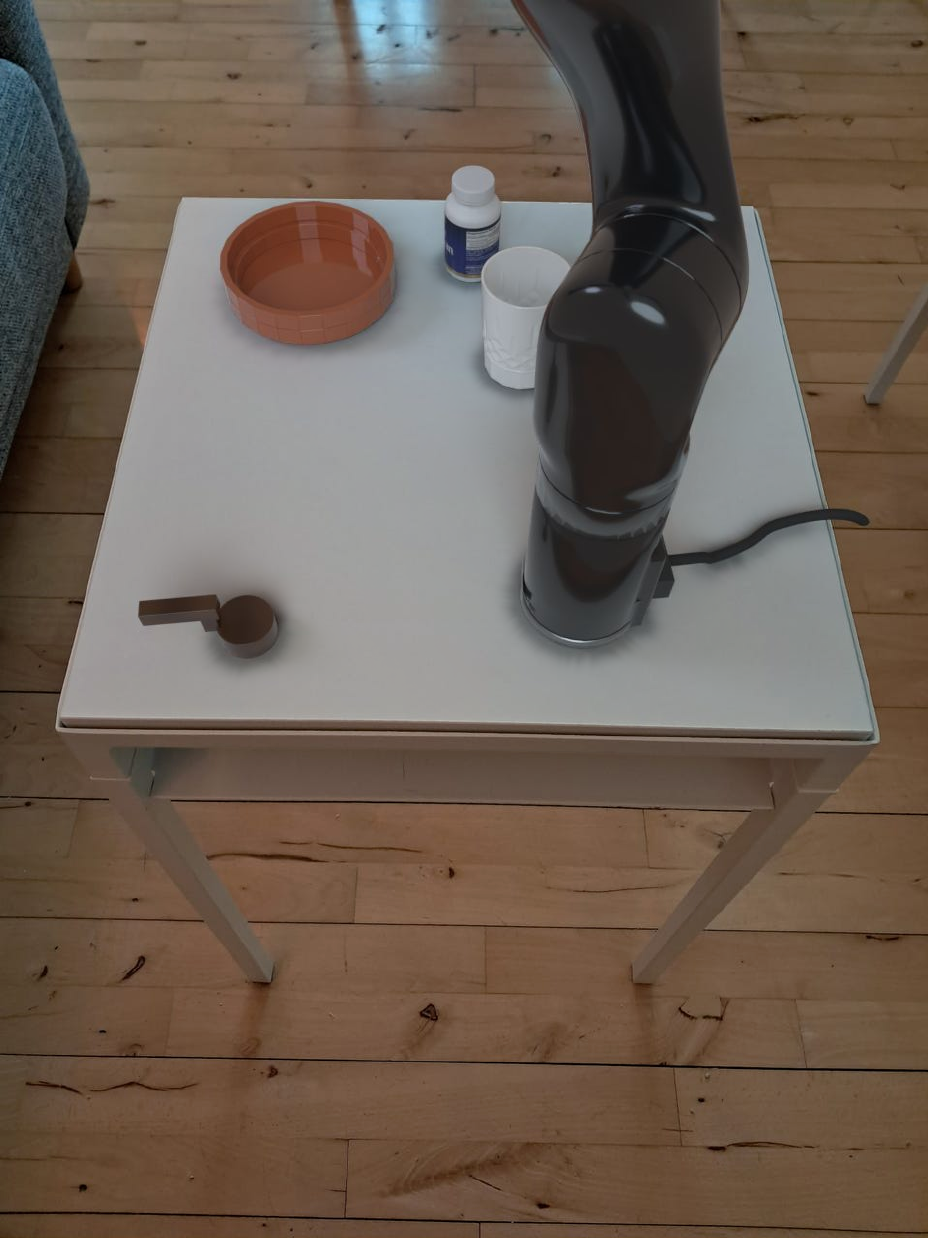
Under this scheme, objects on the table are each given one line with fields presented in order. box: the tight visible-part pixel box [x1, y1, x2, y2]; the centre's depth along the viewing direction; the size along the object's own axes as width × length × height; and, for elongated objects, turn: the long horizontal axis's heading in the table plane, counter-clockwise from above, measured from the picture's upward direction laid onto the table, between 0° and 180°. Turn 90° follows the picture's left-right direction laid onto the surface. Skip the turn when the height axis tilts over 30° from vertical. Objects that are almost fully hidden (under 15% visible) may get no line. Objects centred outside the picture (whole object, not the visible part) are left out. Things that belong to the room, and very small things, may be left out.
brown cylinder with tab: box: [137, 593, 279, 659], centre depth 70 cm, size 9×4×5 cm, turn 96°
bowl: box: [219, 200, 397, 346], centre depth 91 cm, size 16×16×4 cm
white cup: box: [480, 245, 572, 390], centre depth 84 cm, size 8×8×10 cm
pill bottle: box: [443, 165, 502, 283], centre depth 91 cm, size 5×5×10 cm
